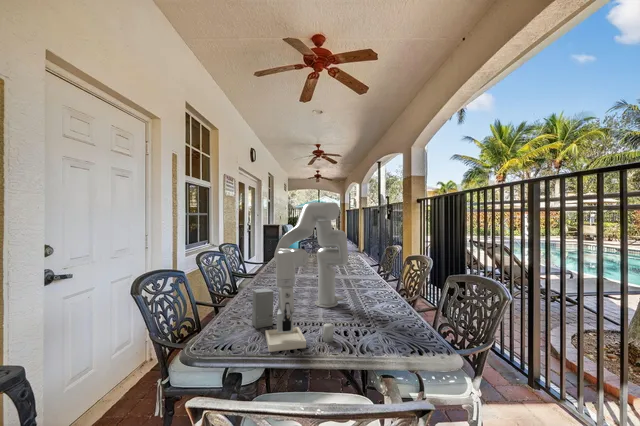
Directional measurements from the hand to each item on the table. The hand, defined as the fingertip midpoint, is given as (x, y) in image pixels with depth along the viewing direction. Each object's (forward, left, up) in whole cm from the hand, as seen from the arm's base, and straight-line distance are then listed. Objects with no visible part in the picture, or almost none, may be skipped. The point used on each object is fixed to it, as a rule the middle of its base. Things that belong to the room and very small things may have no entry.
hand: (285, 326), depth 117 cm
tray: (0, 0, -6) cm, 6 cm away
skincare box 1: (+7, -20, -6) cm, 22 cm away
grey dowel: (-17, +3, -6) cm, 18 cm away
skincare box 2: (0, 0, -1) cm, 1 cm away
